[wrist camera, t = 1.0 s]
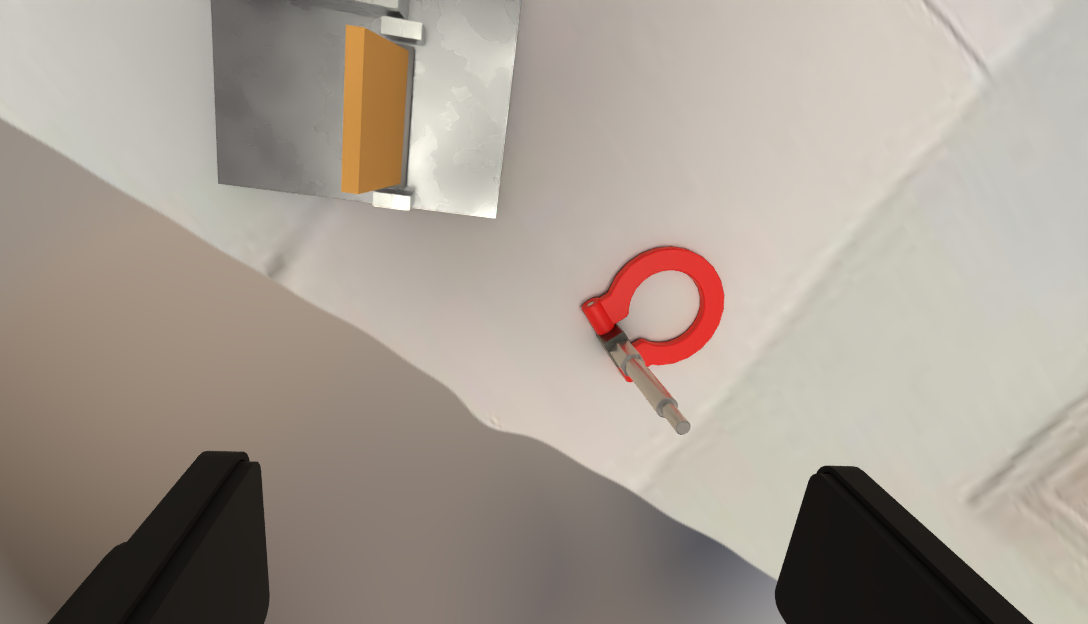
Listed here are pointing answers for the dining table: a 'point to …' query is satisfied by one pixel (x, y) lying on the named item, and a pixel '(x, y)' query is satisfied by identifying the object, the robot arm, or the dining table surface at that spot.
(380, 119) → the tab
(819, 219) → the dining table surface
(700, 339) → the tow hook
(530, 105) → the dining table surface
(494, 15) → the plate
